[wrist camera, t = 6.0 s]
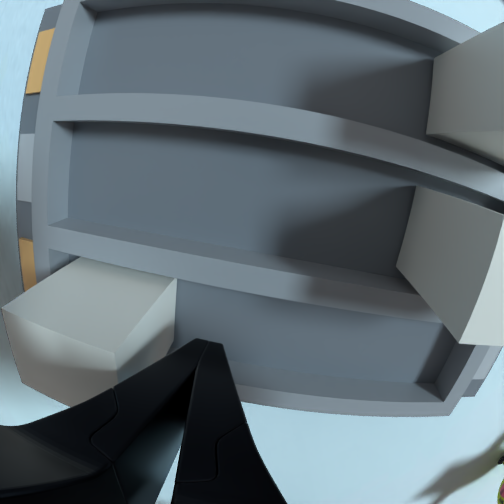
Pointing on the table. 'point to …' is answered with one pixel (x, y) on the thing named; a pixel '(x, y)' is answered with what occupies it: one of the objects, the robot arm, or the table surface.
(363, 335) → the switch bank
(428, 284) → the tab
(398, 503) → the table surface
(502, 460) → the toy figure
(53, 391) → the tab
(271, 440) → the table surface
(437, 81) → the tab
